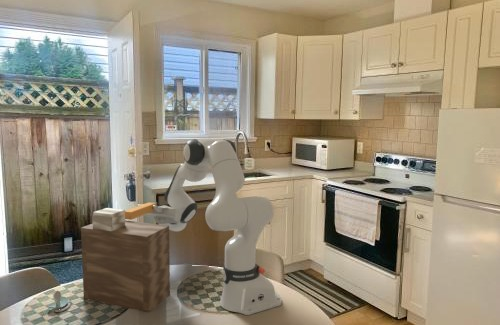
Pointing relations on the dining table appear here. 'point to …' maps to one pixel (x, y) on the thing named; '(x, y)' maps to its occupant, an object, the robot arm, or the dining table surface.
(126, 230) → the shelf stand
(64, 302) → the pacifier
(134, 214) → the plug
